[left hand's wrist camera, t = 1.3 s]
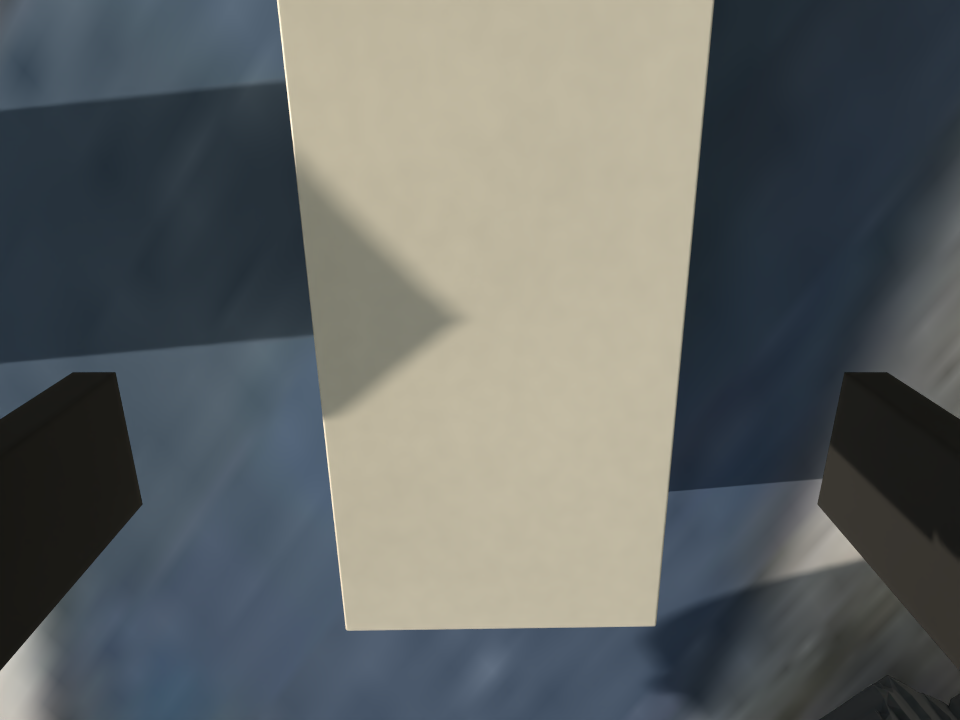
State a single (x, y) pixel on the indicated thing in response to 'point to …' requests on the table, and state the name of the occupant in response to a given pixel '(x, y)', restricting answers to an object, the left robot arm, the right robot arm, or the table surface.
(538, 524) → the wide beam
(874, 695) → the toy
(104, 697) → the table surface
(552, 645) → the table surface
